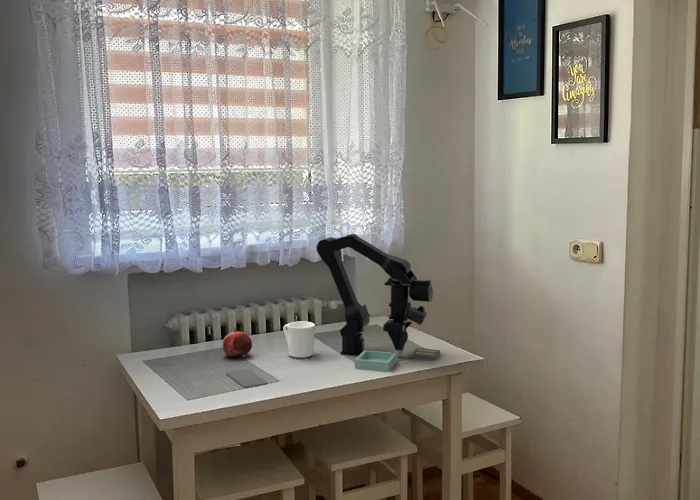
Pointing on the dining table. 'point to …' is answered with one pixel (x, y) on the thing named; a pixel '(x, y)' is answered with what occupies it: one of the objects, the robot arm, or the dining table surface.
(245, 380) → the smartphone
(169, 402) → the dining table surface
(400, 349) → the light bulb
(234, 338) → the fruit
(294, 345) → the mug
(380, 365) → the teal square tray
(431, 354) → the pad
